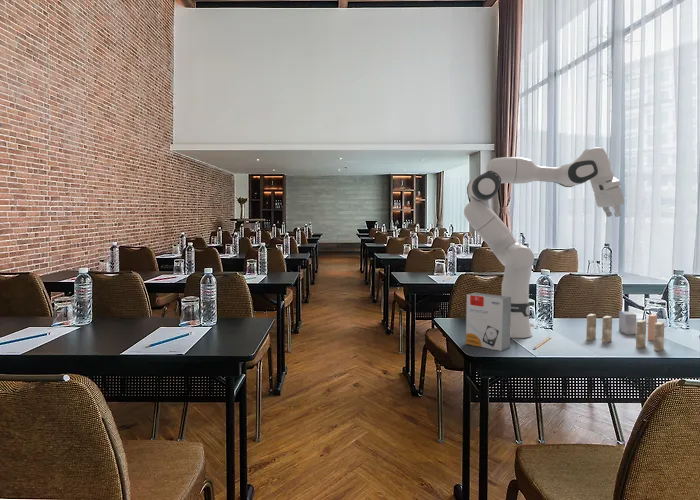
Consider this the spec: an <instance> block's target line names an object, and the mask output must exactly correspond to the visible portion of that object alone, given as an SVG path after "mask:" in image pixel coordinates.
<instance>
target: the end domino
mask: <svg viewBox="0 0 700 500" xmlns="http://www.w3.org/2000/svg"><path fill="white" fill-rule="evenodd" d="M653 345H654V346H653V351H656V352H661V351H663V350H664V345H665V322H662V321H661V322H660V321H657V323H655V335H654V342H653Z"/></svg>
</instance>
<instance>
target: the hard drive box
mask: <svg viewBox="0 0 700 500" xmlns="http://www.w3.org/2000/svg"><path fill="white" fill-rule="evenodd" d="M465 295H466V300H465V301H466V303H465V305H466V307H465V310H466V311H465V344H466V345H469V346H470V345H471V346H474V347H480V348H484V349H489V350H493V351H498V352H502V351H505V350H508V349H510V348H511V338H510V321H511V297H507V296H502V295H498V294H497V295H496V294H489V293H482V292H481V293H480V292H473V293H468V294H465Z"/></svg>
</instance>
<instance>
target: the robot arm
mask: <svg viewBox="0 0 700 500" xmlns="http://www.w3.org/2000/svg"><path fill="white" fill-rule="evenodd" d="M609 159H610V158H609V157H608V154H607V153H606V150H605V149H604V148H603V147H600V146H599V147H591V148H587V149H584V150H583V152H582V153H581V154H580V155H579V157H577V158H576V159H575V160H573V162H571V163H567V164H564V165H562V166H558V167H550V166H541V165H540V166H539V165H537V164H535V162H534V161H533V160H532V159H529V158H527V157H520V156H506V157H505V156H503V157H495V158H492V159H490V160H489V162H488V163H487V164H486V171H485V172H483V173H482V174H480V175H477V176H475V177H473V178H471V180H470V181H469V182H468V183H467V187H466V193H467V198H468V203H467V204H466V206H465V207H464V210H463V215H464V216H465V218H466V220H467V221H468V223H469V224H470V226H471V227H472V229H473V230H474V231H475V232H476V233H477V234H478V235H479V237H480V238H481V239H482V240H483V242H484V243H485V244H487V246H488V247H489V249H490V250H491V252H492V253H493V254H494V255H495V257H496V258H497V260H498V261H499V262H500V263H501V265H503V267H504V272H503V277H502V282H501V296H507V297H511V321H510V339H511V338H512V339H513V338H514V339H516V338H517V339H525V338H532V337H533V333H532V329H531V324H530V312H531V307H530V301H529V300H530V299H529V298H530V297H529V296H530V295H529V294H530V280H531V277H532V276H531V274H532V270H533V265H534V263H535V255H534V253H533V250H531V248H530V247H528V246H527V245H524V244H520V243H519V242H518V241H517V240H516V238H515V237H514V235H513V234H512V233H511V231H510V229H509V227H508V226H507V225H506V224H505V223H504V222H503V220H502V219H501V218H500V216H498V215H497V214H496V212H495V211H494V210H493V209H492V207H491V206H490V203H489V201H490V200H491V199H492V198H494V197H495V196H496V195H497V193H498V192H499V191H498V190H499V188H500V186H501V184H514V185H515V184H527V183H528V184H529V183H531V182H532V183H533V182H547V183H555V184H558V185H559V186H561V187H565V188H573V187H575V186H579V185H583V184H585V183H586V182H588V181H589V182H590V185H591V188H592V191H593V195H594V198H595V199H594V200H595V203H596V206H597V207H598V208H602V210H603V212H604V213H605V215H606V218H607V217H608V218H609V217H612V216H613V213H612V212H611V210H610V208H613V210H614V216H615V218H616V217H617V218H619V217H621V216H622V213H621V206H622V205H624V204H625V199H624V194H623V191H622V187H621V185H622V184H621V183H622V182H621V181H620V180H619V179H617V178H616V177H615V175H614V173H613V171H612V169H611V162H610V160H609Z"/></svg>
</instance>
